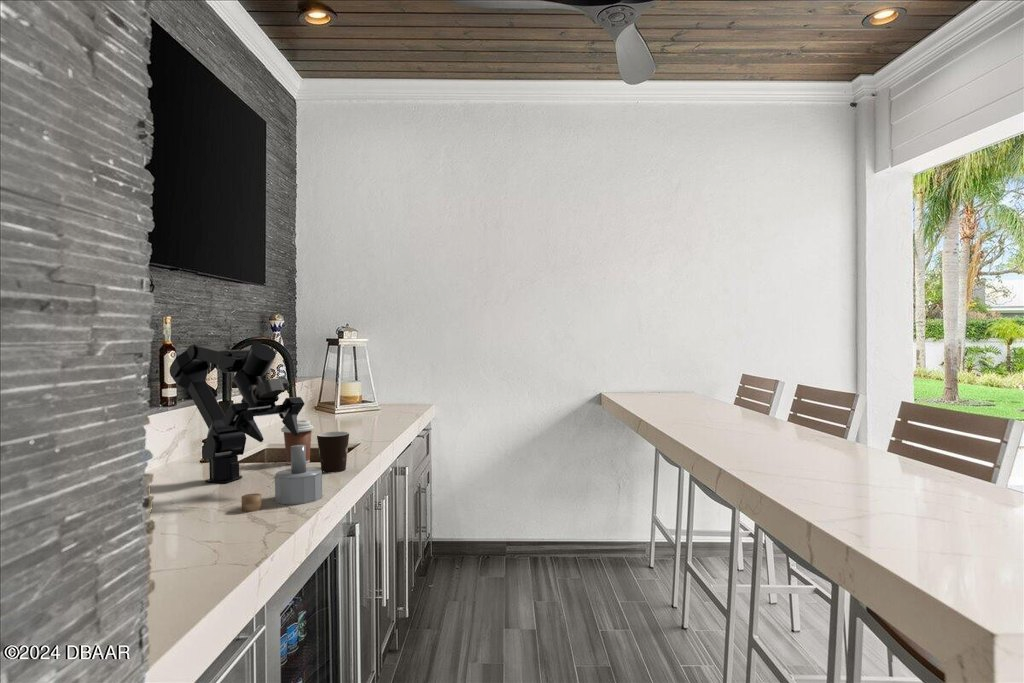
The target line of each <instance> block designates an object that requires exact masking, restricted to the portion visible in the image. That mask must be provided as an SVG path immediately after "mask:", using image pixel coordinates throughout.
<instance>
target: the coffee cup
mask: <svg viewBox="0 0 1024 683" xmlns="http://www.w3.org/2000/svg"><path fill="white" fill-rule="evenodd" d="M297 425H298V436H297V437H295V436H294V435H293V434H292V433H291V432H290V431H289V429H288V428H287V427H286V426H285V425H284V426H283V427H281V428H280V431H281V432H282V433H283V440H284V448H285V458H286V464H287V465H290V464H291V446H294V445H306V464H309V463H310V462H311V460H310V459H311V446H312V445H311V442H312V431H314V429H315V427H314V425H312V424H311V421H310V420H306V419H305V420H304V419H299V420H298V419H297Z"/></svg>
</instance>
